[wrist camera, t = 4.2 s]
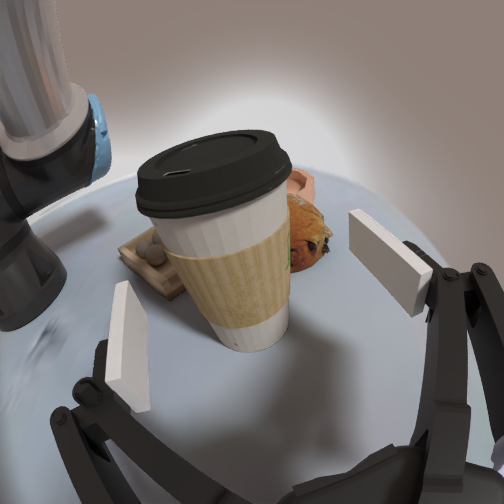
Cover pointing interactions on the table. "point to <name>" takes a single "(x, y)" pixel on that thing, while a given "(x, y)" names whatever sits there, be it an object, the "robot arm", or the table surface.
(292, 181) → the dish
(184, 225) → the coffee cup
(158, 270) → the pebble tray
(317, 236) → the bread roll
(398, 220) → the table surface
